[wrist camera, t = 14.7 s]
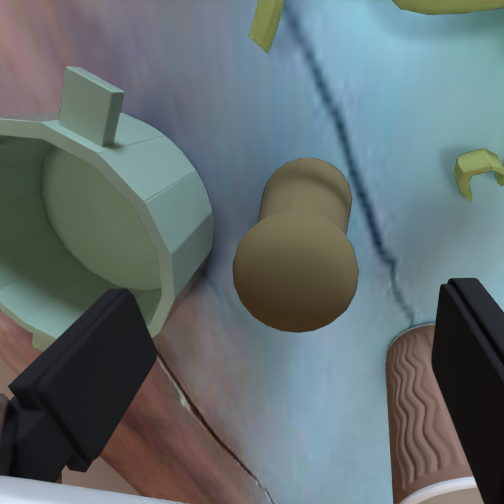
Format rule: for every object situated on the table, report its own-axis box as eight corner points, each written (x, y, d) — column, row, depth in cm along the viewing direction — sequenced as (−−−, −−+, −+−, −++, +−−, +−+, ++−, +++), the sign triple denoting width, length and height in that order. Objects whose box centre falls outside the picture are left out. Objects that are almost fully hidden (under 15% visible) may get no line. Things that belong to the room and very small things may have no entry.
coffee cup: (392, 410, 28) (432, 597, 18) (343, 327, 25) (356, 494, 15) (526, 385, 24) (679, 609, 14) (486, 282, 21) (644, 470, 11)
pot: (27, 265, 30) (-55, 313, 23) (49, 22, 19) (-86, -11, 13) (169, 339, 30) (128, 405, 24) (263, 140, 20) (235, 163, 14)
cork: (339, 250, 22) (349, 370, 13) (256, 234, 23) (208, 336, 13) (363, 166, 19) (401, 239, 10) (268, 150, 20) (217, 205, 11)
